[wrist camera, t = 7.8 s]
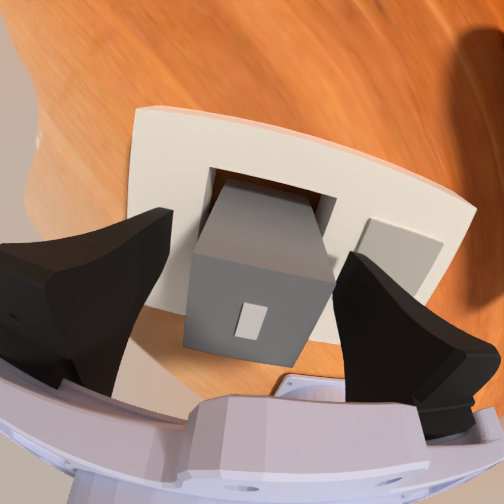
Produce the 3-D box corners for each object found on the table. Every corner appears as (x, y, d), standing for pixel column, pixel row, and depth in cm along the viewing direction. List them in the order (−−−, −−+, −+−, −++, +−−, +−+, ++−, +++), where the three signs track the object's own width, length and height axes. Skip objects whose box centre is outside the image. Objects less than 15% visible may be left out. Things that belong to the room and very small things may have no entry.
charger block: (285, 263, 16) (292, 369, 10) (214, 247, 15) (182, 349, 9) (307, 196, 14) (336, 285, 8) (227, 177, 13) (191, 254, 7)
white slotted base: (382, 323, 18) (393, 352, 15) (144, 274, 17) (128, 303, 14) (452, 191, 13) (479, 210, 10) (158, 105, 12) (133, 108, 9)
